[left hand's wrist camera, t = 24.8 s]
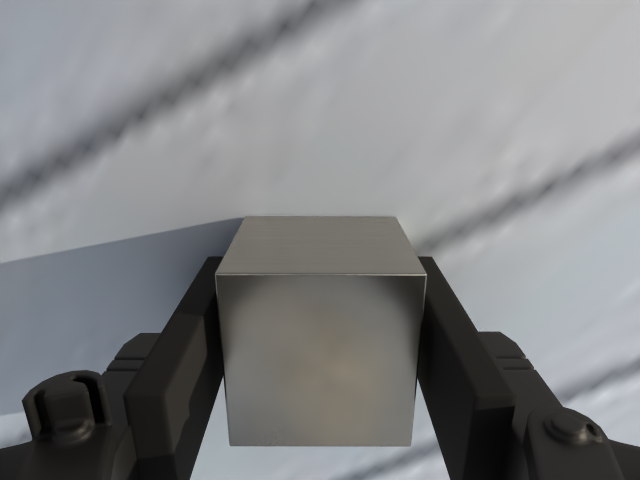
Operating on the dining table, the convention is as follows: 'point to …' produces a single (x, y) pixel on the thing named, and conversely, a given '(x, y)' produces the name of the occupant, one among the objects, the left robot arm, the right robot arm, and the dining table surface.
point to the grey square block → (320, 331)
